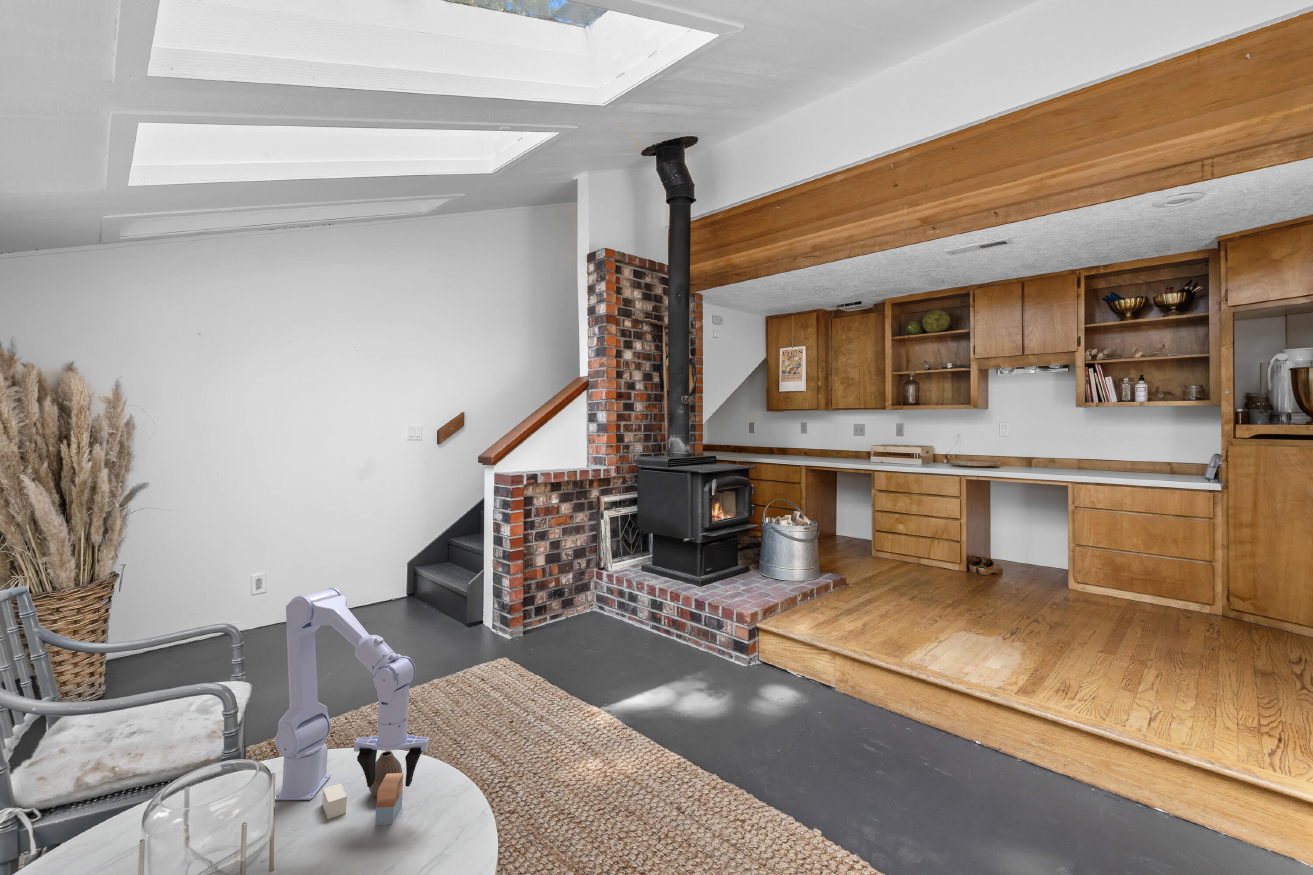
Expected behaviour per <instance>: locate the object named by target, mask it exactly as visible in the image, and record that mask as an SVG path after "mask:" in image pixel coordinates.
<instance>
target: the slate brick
mask: <svg viewBox="0 0 1313 875" xmlns="http://www.w3.org/2000/svg"><path fill="white" fill-rule="evenodd" d="M402 807H403V790H402V792H401V794H400V796H399V798H398V800H397V802H396V804H395V806H394V807H381V808H377V806H376V807H375V817H374V818H375V824H374V825H375V826H377V825H378V826H379V825H382V826H383V825H393V824H394V822H395V820H396V819H397V816H398V815H399V813H400V811H401V809H402Z"/></svg>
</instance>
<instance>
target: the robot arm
mask: <svg viewBox="0 0 1313 875" xmlns="http://www.w3.org/2000/svg"><path fill="white" fill-rule="evenodd" d="M285 615H286V616H285V618H286V622H285V624H286V628H285V629H286V649H287V651H286V652H287V653H286V654H287V670H288V671H287V673H288V674H287V675H288V677H287V678H288V698H289V699H288V700H289V708H288V709H287V710H286V712H285V713H284V714H283V715H282V717H281V718H279V720H278V722H277V726H278V727H277V733H276V735H275V748H276V750H277V752H278V753H279V754H280V756H282V757H283V768H282V769H283V770H282V788H281V789H279V791H278V792H277V793H276V794H275V795H276V800H275V801H304V800H305V801H307V800H309V801H310V800H312V799H313V798H314V797H315V796H316V794H317V793H318V792H319V791H320V790H321V788H322V787H323V786H324V785H325V783H326V782H327V781H328V780H329V779H330V777H331V776H332V775H331V773H327V772H328V767H327V766H328V751H329V749H328V746H327V744H326V739H327V738H328V737H329V736H330V734H331V732H332V721H331V718H330V716H329V713H328V706H327V705H325V704H323V703H321V702H319V699H318V698H319V696H318V674H317V655H316V631H317V630H318V629H320V627H321V626H331V627H332V628H333V629H334V630H335V631H336V632H338V633H339V635H341V636H342V637H343V638H345V639H346V640H347V641H348V642H349V643H350V644H351V645H352V646H354V647H355V648H354V657H355V658H356V659H357V660H358V661H359V662H360V663H361V664H362V665H364V666H363V667H365V668H366V670H368V671H369V672H370V673H371V675H373V676H374V677H372V680H373V685H374V687H375V689H376V693H377V695H376V697H377V699H378V716H377V719H378V720H377V734H376V735H373V736H368V737H367V736H366V737H357V738H356V740H355V741H354V745H353V753H354V752H355V753H357V752H358V755H357V756H356V761H357V762H358V763H359V765H360V768H361V769H362V771H363V774H364V776H365V781H366V786H367V788H369V787H371V786H372V784H373V783H374V781H375V763H376V761H377V754H378V751H383V752H385V751H391V752H392V751H397V750H405V751H407V750H408V751H407V754H406V755H405V757H404V758H405V768H406V769H405V770H406V772H405V787H407V788H408V787H410V785H411V784H412V782H413V778H414V774H415V770H416V767H417V764H418V762H419V760H420V757H421V754H422V753H423V752H426V751H427V750H428V748H429V745H430V744H429V743H430V737H427V736H426V737H424V736H418V735H412V734H408V722H409V719H408V718H409V700H410V699H409V698H410V683H412V682H413V681H414V679H415V678H416V676H417V667H416V665H415V663H414V661H413V660H412V658H411V657H409V656H407V655H402V654H400V653H396V652H395V651H394V650H393V649H392V648H391V647H390V646H389V645H388V644H387V643H386V642H385V640H384V638H383V637H382V636H381V635H378V634H369V632H368V631H367V630H366V629H365V628H364V626H363V625H362V624H361V622H359V620H358V619H357V618H356V616H355V615H354V614H353V613H352V612H351V610H350V609H349V608H348V599H347V597H346V596H345V595H343V594H342V592H341V591H340V590H339V589H338V588H335V587H330V588H326V589H324V590H320V591H315V592H312V593H307V594H304V595H297V596H295V597H293V598H292V599H291V600H290V601H289V602H288V603H287V605H286V606H285Z"/></svg>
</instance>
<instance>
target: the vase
mask: <svg viewBox="0 0 1313 875" xmlns="http://www.w3.org/2000/svg"><path fill="white" fill-rule="evenodd" d="M391 773H403V768H402V764H401V762H400V761H399V760H398V759H397V757H396V756H395V755H394V753H393V752H392V750H391V751H383V752H382V753H380V755H379V757H378V758H377V759H376V763H375V781H374V783H373V784H372V786H371V787H368V789H369V792H370V793H371V794H372V796H373V797H375V798H376V799H377V791H378V788H379V786H380V785H381V783H382V781H383V779H384V778H385V776H386V774H391Z"/></svg>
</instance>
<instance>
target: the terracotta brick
mask: <svg viewBox="0 0 1313 875" xmlns="http://www.w3.org/2000/svg"><path fill="white" fill-rule="evenodd" d="M403 788H404V772H402V773H391V774H386V776H385V778H384V779H383V781H382V783H381V785H380V786H379V788H378V791H377V798H376V807H377V808H381V807H394V806H395V804H396V802H397V800H398V798H399V796H400V794H401V792H402V790H403Z"/></svg>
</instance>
